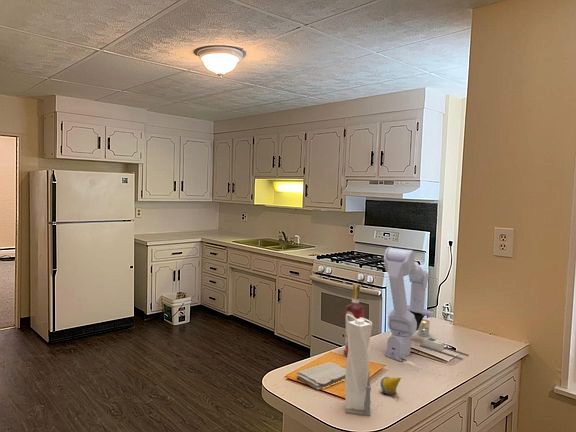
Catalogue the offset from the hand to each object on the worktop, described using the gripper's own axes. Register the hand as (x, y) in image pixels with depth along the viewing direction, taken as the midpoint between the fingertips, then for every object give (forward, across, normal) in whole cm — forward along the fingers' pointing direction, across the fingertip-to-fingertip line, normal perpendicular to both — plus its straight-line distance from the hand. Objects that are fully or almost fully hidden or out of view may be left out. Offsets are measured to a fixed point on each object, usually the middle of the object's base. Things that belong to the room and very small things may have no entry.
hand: (415, 330), depth 181 cm
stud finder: (+5, -8, 0) cm, 10 cm away
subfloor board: (+6, -14, -4) cm, 16 cm away
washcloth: (+7, +3, +53) cm, 54 cm away
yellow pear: (+6, -18, +45) cm, 49 cm away
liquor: (+6, +10, +30) cm, 32 cm away
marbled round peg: (+6, +2, -10) cm, 12 cm away
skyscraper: (+6, -16, +61) cm, 63 cm away
